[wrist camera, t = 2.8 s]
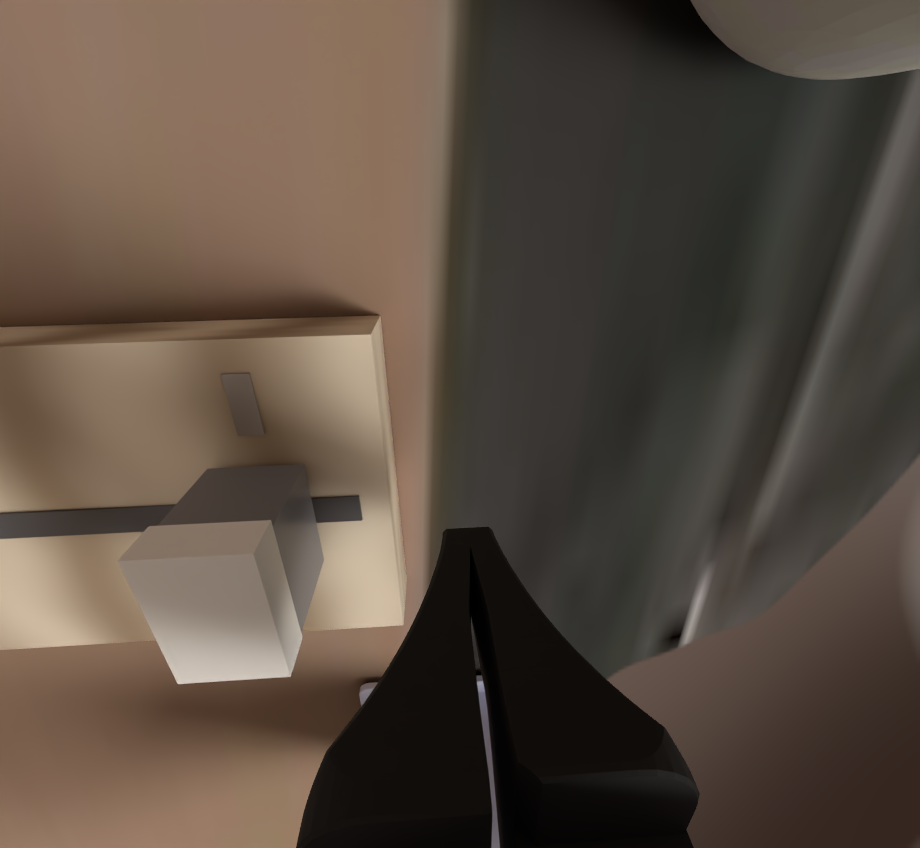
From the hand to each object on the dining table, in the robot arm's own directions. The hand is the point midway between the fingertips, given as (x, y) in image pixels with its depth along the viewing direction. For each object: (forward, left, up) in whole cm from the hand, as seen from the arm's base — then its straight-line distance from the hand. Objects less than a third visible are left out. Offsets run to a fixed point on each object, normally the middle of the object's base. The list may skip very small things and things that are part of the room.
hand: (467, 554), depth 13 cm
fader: (+7, 0, -2) cm, 7 cm away
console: (+13, 0, -5) cm, 14 cm away
